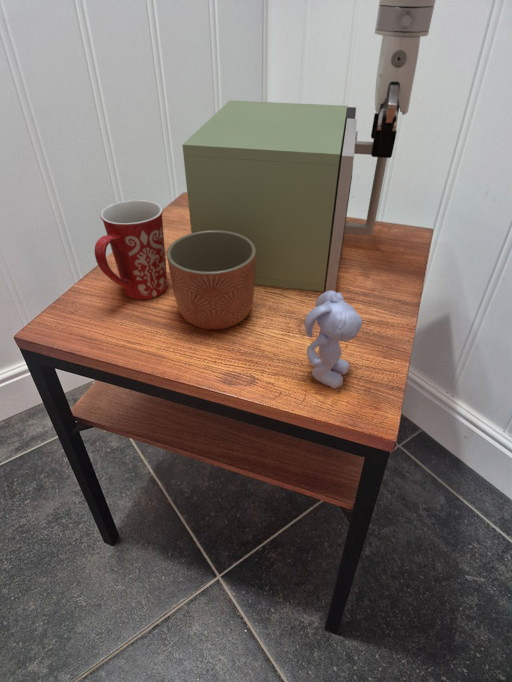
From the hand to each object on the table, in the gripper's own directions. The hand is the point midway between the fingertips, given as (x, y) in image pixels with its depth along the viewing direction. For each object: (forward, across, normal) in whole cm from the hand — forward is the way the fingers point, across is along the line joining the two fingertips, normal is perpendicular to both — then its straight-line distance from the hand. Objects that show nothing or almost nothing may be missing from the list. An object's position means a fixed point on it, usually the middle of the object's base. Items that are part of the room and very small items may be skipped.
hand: (380, 147), depth 73 cm
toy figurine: (+18, -37, +4) cm, 42 cm away
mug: (+18, -24, +36) cm, 47 cm away
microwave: (+18, -4, +16) cm, 25 cm away
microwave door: (+18, -9, +2) cm, 20 cm away
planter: (+18, -27, +22) cm, 40 cm away
